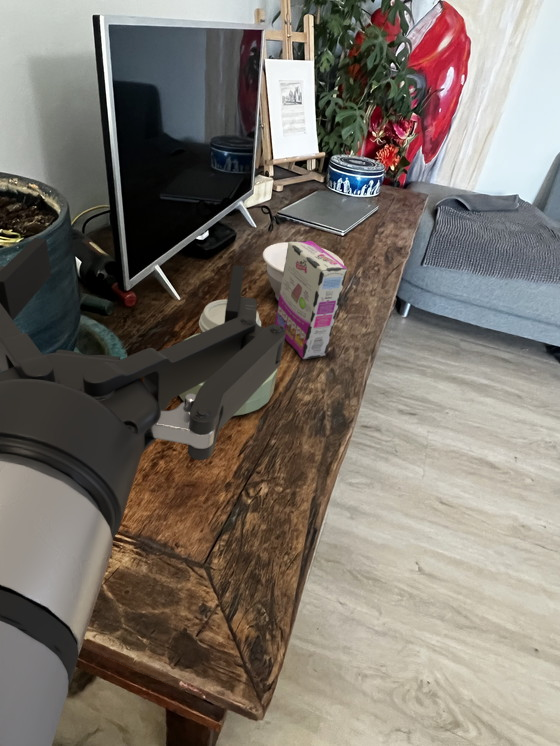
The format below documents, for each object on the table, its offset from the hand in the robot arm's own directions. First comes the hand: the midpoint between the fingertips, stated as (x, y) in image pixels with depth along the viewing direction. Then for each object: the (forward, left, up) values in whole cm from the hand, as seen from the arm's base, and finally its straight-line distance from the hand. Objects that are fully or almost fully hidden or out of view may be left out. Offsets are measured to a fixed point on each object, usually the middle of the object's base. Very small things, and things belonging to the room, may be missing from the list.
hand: (141, 269), depth 35 cm
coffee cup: (+6, +26, -30) cm, 40 cm away
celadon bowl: (+6, +26, -30) cm, 40 cm away
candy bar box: (+18, +41, -30) cm, 54 cm away
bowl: (+18, +57, -30) cm, 67 cm away
